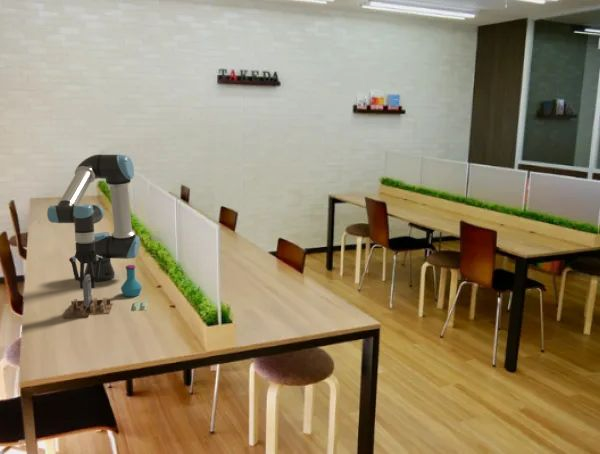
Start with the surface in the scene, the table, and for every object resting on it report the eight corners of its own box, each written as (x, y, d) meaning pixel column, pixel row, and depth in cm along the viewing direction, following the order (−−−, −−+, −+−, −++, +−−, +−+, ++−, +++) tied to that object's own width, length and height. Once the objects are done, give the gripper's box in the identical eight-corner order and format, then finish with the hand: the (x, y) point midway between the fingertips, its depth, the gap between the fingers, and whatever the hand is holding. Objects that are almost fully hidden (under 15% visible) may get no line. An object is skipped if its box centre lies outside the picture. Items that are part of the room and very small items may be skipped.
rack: (69, 308, 240) (69, 298, 239) (112, 305, 244) (112, 296, 243) (63, 318, 228) (62, 308, 227) (109, 316, 232) (108, 306, 231)
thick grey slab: (88, 298, 239) (86, 274, 237) (92, 298, 240) (91, 274, 238) (84, 306, 230) (82, 280, 228) (88, 306, 230) (87, 280, 228)
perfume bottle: (121, 300, 251) (119, 268, 249) (121, 294, 260) (120, 263, 257) (141, 299, 254) (140, 267, 251) (142, 293, 263) (140, 262, 260)
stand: (134, 304, 246) (133, 299, 246) (148, 303, 248) (147, 298, 247) (132, 312, 236) (131, 307, 235) (146, 312, 237) (146, 306, 237)
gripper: (64, 244, 225) (67, 299, 229) (102, 243, 228) (105, 297, 232) (67, 240, 232) (71, 293, 236) (105, 239, 235) (107, 292, 240)
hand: (88, 295), depth 234 cm, fingers closed on thick grey slab, 2 cm apart
